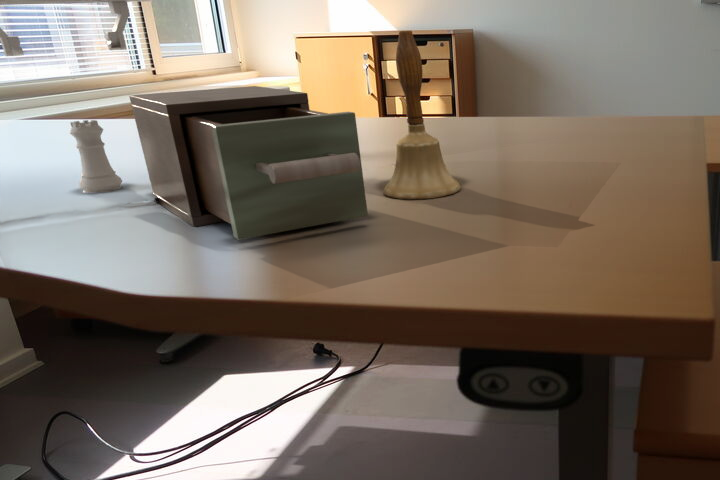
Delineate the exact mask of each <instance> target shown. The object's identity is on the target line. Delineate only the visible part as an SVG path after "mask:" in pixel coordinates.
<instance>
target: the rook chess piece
mask: <svg viewBox="0 0 720 480" xmlns="http://www.w3.org/2000/svg"><path fill="white" fill-rule="evenodd" d="M70 126H71V127H70V130H69V134H70V135H71V136H72V137H73V138H75V141H76V145H75V148H76V149H78V153H79V156H80V164H81V174H80V180H79V182H78V187H79V188H80V189H82V190H83V191H82V193H84V194H99V193H109V192H113V191H118V190H120V189H122V188H123V187H122V186H121V185H122V183H123V179H122V178H121V176H119V175H118V174H116V171H115V170H114V169H113V168H112V165H111V163H110V161H109V159H108V157H107V154H106V151H105V150H106V149H105V145H106V144H105V142H103V140H102V133H103V132H104V128H103V127H101V126H100V125H99V122H98V120H96V119H90V121H89V120H88V119H84V120H82V122H80V121H79V120H75V121H71V122H70Z"/></svg>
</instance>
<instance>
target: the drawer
mask: <svg viewBox="0 0 720 480" xmlns="http://www.w3.org/2000/svg"><path fill="white" fill-rule="evenodd" d="M180 118H181V123H182V127H183V132H184V136H185V141H186V145H187V150H188V154H189V159H190V163H191V168H192V172H193V177H194V181H195V186H196V190H197V195H198V198H199V204H200V207H202V208H203V209H205V210H207V211H209V212H210V213H212V214H214V215H216V216H217V217H219V218H221V219H223V220H224V221H225V222H226V223H228V224H229V225H231V229H232V234H233V237H234V238H235V239H237V240H240V241H241V240H245V239H250V238H251V239H252V238H257V237H263V236H267V235H272V234H277V233H283V232H288V231H293V230H299V229H304V228H309V227H314V226H320V225H327V224H330V223H331V224H332V223H337V222H342V221H346V220H352V219H358V218H364V217H368V216H369V214H368V206H367V205H368V204H367V198H366V189H365V181H364V172H363V167H362V158H361V153H360V152H361V151H360V142H359V134H358V127H357V118H356V113H355V112H353V111H342V112H331V113H330V112H329V113H328V112H323V111H318V110H317V111H316V110H312V109H311V110H306V109H300V108H295V107H289V106H282V107H271V108H261V109H250V110H239V111H228V112H217V113H206V114H195V115H184V116H180Z"/></svg>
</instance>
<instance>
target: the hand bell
mask: <svg viewBox="0 0 720 480" xmlns="http://www.w3.org/2000/svg"><path fill="white" fill-rule="evenodd" d="M395 51H396V52H395V64H396V65H395V66H396V73H397V77H398V81H399V84H400V87H401V89H402V92H403V95H404V98H405V108H406V109H405V110H406V117H407V118H406V123H407V133H406V135H404V136H403V137H402V138H400V139H398V140H397V142H396V159H395V165H394V171H393V174H392V176H391V178H390V180H389V181H388V183H387V184H386V185H385V186H384V188H383V194H384V196H386V197H389V198H392V199H393V198H395V199H399V200H427V199H428V200H429V199H436V198H442V197H447V196H450V195H453V194H456V193H457V192H459V191H460V190H461V185H460V183H459V182H458V181H457V180H456V179H455V178H454V177H453V176H452V174H450V172H449V170H448V169H447V167H446V163H445V162H444V161H445V160H444V159H443V155H442V151H441V150H442V149H441V146H440V145H441V144H440V141H439V139H438V138H437V137H435V136H432V135H430V134H429V133H428V132H427V131H426V127H425V123H424V117H423V109H422V102H421V90H422V84H423V62H422V55H421V52H420V50H419V47H418V45H417V43H416V39H415V37H414V35H413V30H399V31H398V40H397V46H396V50H395Z"/></svg>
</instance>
